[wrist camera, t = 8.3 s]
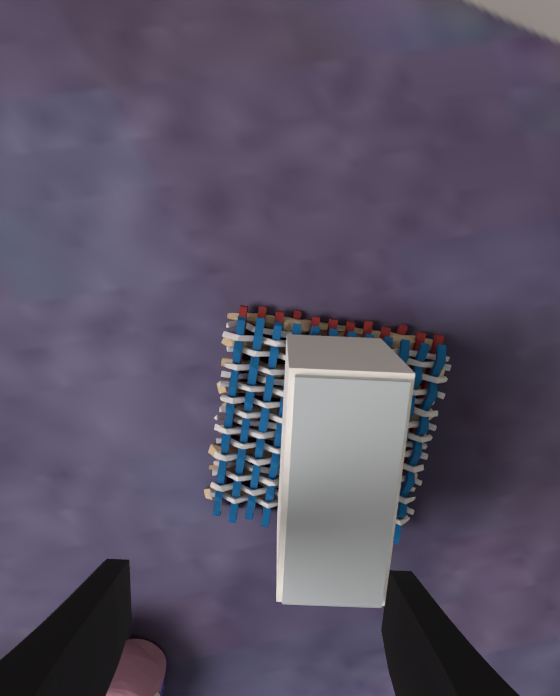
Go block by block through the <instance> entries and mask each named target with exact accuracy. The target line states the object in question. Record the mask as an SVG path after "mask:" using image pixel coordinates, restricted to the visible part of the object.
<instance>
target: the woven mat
mask: <svg viewBox="0 0 560 696" xmlns="http://www.w3.org/2000/svg"><path fill="white" fill-rule="evenodd" d="M266 310H267V308H266V307H260V306H259V309H258V313H248V306H242V305H241V306H240V310H239V313H228V315H227V318H228V319H233V320H236V321H231V322H227V325H226V327H234V326H237V328H236V334H233V333H229V332H226V331H224V333H223V335H222V337H224V338H223V340H222V342H221V343H222V344H224V345H226V346H227V352H233V359H232V358H222V362H221V366H225V367H226V368H229V369H231V372H226V371H222V372H221V377H228V378H230V379H226V380H224V381H219V383H217V387H218V391H219V394H224V393H228V396H226V395H222V396H220V399H221V401H224V402H225V403H223V404H222V406H221V407H220V409H219V412H225V414H220V415H216V417H215V418H214V419H216V420H225V422H224V424H221V425H217V424H215V427H214V430H217V431H219V432H220V433H223V434H222V437H221V438H216V444H211V446H210V449H209V451H208V453H210V454H211V455H212V456H213V457H214V458H216V459H217V460H219V461H214V465H209V469H211V470H212V476H213V475H217V484H216V483H213V482H211V485H210V487H209V488H206V489H204V493H205V497H206V498H207V499H211V500H213V499H215V500H214V511H213V515H216V516H220V514H221V507H222V500H223V498H224V499H226V500H227V501H229V502H231V506H230V513H229V520H228V522H231V523H236V518H237V511H238V505H239V503H241V502H245V501H248V503H247V510H246V519H248V520H252V519H253V515H254V509H255V503H258V504H260V505H262V506H263V509H262V521H261V526H262V527H269V520H270V513H271V507H275V506H278V494H279V490H277V489H275V488H278V487H279V474H280V469H278V467H279V465H280V455H281V435H282V416H283V396H284V377H285V364H277V365H276V363H277V358H280V359H283V360H285V357H286V340H280V338H281V337H284V338H287V334H294V335H307V334H309V335H316V336H318V335H323V336H338V337H360V338H381V339H382V340H383V341H384V342H385V343H386V344H387V345H388V346H389V347H393V348H392V350H393V351H394V352H395V353H396V354H397V355H398V356H399V357H400V358H401V359H402V360H403V361H404V362H405V363H406V364H407V365H408V366H409V367H410V368H411V370H412V371H413V372H414V373H415V380H414V388H413V395H412V403H411V410H410V418H409V421H410V422H409V426H408V433H407V439H408V441H406V448H405V456H404V463H403V471H402V479H401V486H400V494H399V501H398V509H397V517H396V524H395V532H394V539H393V543H396V544H398V543H399V540H400V534H401V525H403V524H404V523H406V522H407V521H408V520H409V519H410V517H409V518H408V515H407V513H409V514H411V515H413V514H414V510H413V509H411V508H409V507H407V503H409V502H412V501H414V499H415V498H416V497H408V493H409V492H410V491H415V489H416V488H415V487H413V486H414V484H417V485H420V486H421V484H422V481H421V480H418V479H417V476H418V474H417V473H416V472H419V471H423V470H424V466H423V465H418V466H416V464H417V463H418V461H419V459H420V458H422V459H425V460H427V458H428V454H426V453H423V452H422V449H426V448H427V444H426V443H424V442H427V441H431V439H432V438H433V437H432V436H431V435H426V433H427V432H428V431H429V429H430V430H433V431H435V430H436V427H437V425H434V424H431V423H429V420H431V419H432V418H433V417H435V416H438V411H433V409H432V408H431V406H432V405H433V404H434V403H435V399H436V397H438V398H441V399H444V397H445V393H442V392H439V391H438V390H437V383H444V382H446V381H447V380H448V378H447V377H446V376H444V372H445V370H447V371H450V368H451V365H449V364H445V363H446V361H447V362H448V361H449V358H450V357H447V356H446V346H447V345H442V344H443V340H444V337H445V336H443V335H438V334H434V338H433V340H432V339H427V338H425V337H426V333H424V332H418V331H417V334H416V336H414V335H405V334H406V332H407V325H402V324H400V325H399V327H398V328H397V330H396V333H392V332H391V328H389V327H383V326H382V328H381V331H375V330H372V326H373V322H368V321H365V322H364V328H363V329H361V328H354V327H355V322H352V321H347V324H346V326H341V325H337V323H338V320H336V319H329V323H328V324H327V323H320V317H316V316H312V321H310V320H300V319H301V311H296V310H294V313H293V318H290V317H284V312H282V311H276V313H275V316H271V315H266ZM249 323H251V324H255V325H256V326H253V325H251V324H249ZM264 327H268V328H273V329H266V328H264ZM246 329H248V330H250V331H252V332H254V336H247V335H245V332H246ZM263 334H268V335H272V340H271V339H268V338H265V337H263ZM428 351H430V353H428ZM243 353H244V354H247V355H250V356H251V361H250V360H243V359H242V354H243ZM262 356H269V360H268V364H267V363H265V362H262V361H260V360H259V359H260V357H262ZM409 356H411V359H410V358H409ZM425 359H428V362H424V361H425ZM240 370H241V371H246V372H249V373H245V374H240ZM281 378H283V380H280V379H281ZM239 379H248V382H243V381H239ZM422 380H423V382H422V386H420V385H419V384H420V383H421V381H422ZM256 381H258V382H261V383H265V385H264V384H257V383H256ZM273 385H281V386H282V387H278V386H273ZM237 392H238V393H244V394H246V396H245V397H237ZM254 395H257V396H263V401H260V400H258V399H255V398H254ZM416 395H418V397H417V398H415V397H416ZM271 397H272V398H280V401H279V402H271ZM243 402H245V404H244V405H243V404H239V403H243ZM253 404H256V405H254V406H253ZM276 407H279V408H278V409H277V408H276ZM258 419H260V421H257V420H258ZM268 419H271V420H274V421H276V423H273V422H268ZM233 422H236V423H238V424H242V426H235V425H233ZM250 426H257V427H259V428H253V427H250ZM267 428H271V429H275V430H271V429H267ZM231 435H237V436H240V442H238V441H236V440H234V439H232V438H231ZM248 437H251V438H257V442H251V443H247V441H248ZM265 440H272V441H273V445H272V446H271V445H268V444H266V443H265ZM218 443H221V445H217V444H218ZM230 444H231V445H232V446H230ZM254 447H256V448H254ZM264 449H265V450H264ZM245 460H246V461H248V462H251V463H253V465H251V464H249V463H247V462H245ZM265 464H269V467H262V466H261V465H265ZM215 465H216V466H215ZM235 466H236V467H235ZM226 476H227V477H229V478H231V479H233V480H234V483H230V484H225V479H226ZM246 480H251V482H250V488H248V487H246V486H244V485H242V481H246ZM258 483H259V484H260V485H262V486H263V487H265V488H260V489H257V487H258ZM407 497H408V498H407Z"/></svg>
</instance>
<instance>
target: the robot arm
mask: <svg viewBox="0 0 560 696" xmlns="http://www.w3.org/2000/svg"><path fill="white" fill-rule="evenodd" d="M131 621H132V614H131V591H130V567H129V560H121V559H106V560H105V561H104V562H103V563H102V564H101V565H100V566H99V567H98V568H97V569H96V570H95V571H94V572H93V573H92V574H91V575H90V576H89V577H88V578H87V579H86V580H85V581H84V582H83V583H82V584H81V585H80V586H79V587H78V588H77V589H76V590H75V591H74V592H73V593H72V594H71V595H70V596H69V597H68V598H67V599H66V600H65V601H64V602H63V603H62V604H61V605H60V606H59V607H58V608H57V609H56V610H55V611H54V612H53V613H52V614H51V615H50V616H49V617H48V618H47V619H46V620H45V621H44V622H42V623H41V624H40V625H39V626H38V627H37V628H36V629H35V630H34V631H33V632H32V633H30V634H29V635H28V636H27V637H26V638H25V639H24V640H23V641H21V642H20V643H19V644H18V645H17V646H16V647H15V648H14V649H12V650H11V651H10V652H9V653H8V654H7V655H6V656H4V657H3V658H2V659H1V660H0V696H106V694H107V691H108V689H109V687H110V684H111V682H112V679H113V677H114V674H115V672H116V669H117V667H118V664H119V662H120V658H121V655H122V652H123V649H124V646H125V642H126V639H127V635H128V632H129V628H130V625H131ZM381 631H382V636H383V642H384V648H385V653H386V659H387V664H388V669H389V674H390V677H391V681H392V684H393V688H394V691H395V695H396V696H520V695H518V694H517V693H516V692H515V691H514V690H513V689H512V688H511V687H510V686H509V685H508V684H507V683H506V682H505V681H504V680H503V679H502V678H501V677H500V676H499V675H498V673H497V672H496V671H495V670H494V669H493V668H492V667H491V666H490V665H489V664H488V663H487V662H486V661H485V659H484V658H483V657H482V656H481V655H480V654H479V653H478V652H477V651H476V649H475V648H474V647H473V646H472V645H471V644H470V643H469V641H468V640H467V639H466V638H465V637H464V636H463V634H462V633H461V632H460V631H459V630H458V629H457V627H456V626H455V625H454V624H453V623H452V621H451V620H450V619H449V618H448V617H447V615H446V614H445V613H444V612H443V610H442V609H441V608H440V607H439V605H438V604H437V603H436V602H435V600H434V599H433V598H432V597H431V595H430V594H429V593H428V591H427V590H426V589H425V588H424V586H423V585H422V584H421V583H420V581H419V580H418V579H417V577H416V576H415V575H414V574H413V573H412V571H392V570H389V577H388V585H387V592H386V600H385V607H384V614H383V622H382V629H381Z"/></svg>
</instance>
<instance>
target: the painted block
mask: <svg viewBox="0 0 560 696" xmlns="http://www.w3.org/2000/svg"><path fill="white" fill-rule="evenodd" d="M414 380H415V373H414V372H413V371H412V370H411V368H410V367H409V366H408V365H407V364H406V363H405V362H404V361H403V360H402V359H401V358H400V357H399V356H398V355H397V354H396V353H395V352H394V351H393V350H392V349H391V348H390V347H389V346H388V345H387V344H386V343H385V342H384V341H383V340H382V339H381V338H360V337H338V336H316V335H294V334H287V338H286V357H285V377H284V396H283V416H282V435H281V455H280V474H279V494H278V513H277V589H276V602H282V604H291V605H317V606H344V607H370V608H382V606H385V600H386V592H387V585H388V577H389V570H390V562H391V555H392V547H393V539H394V532H395V524H396V517H397V509H398V501H399V494H400V486H401V479H402V471H403V463H404V456H405V448H406V441H407V433H408V426H409V418H410V410H411V403H412V395H413V388H414Z"/></svg>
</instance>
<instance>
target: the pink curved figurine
mask: <svg viewBox="0 0 560 696" xmlns="http://www.w3.org/2000/svg"><path fill="white" fill-rule="evenodd" d="M165 672H166V658H165V655H164V653H163V652H162V651H161V649H160V648H159V647H157V646H156V645H155V644H153V643H151V642H149V641H147V640H144V639H128V640H126V642H125V646H124V649H123V652H122V655H121V658H120V662H119V664H118V667H117V669H116V672H115V674H114V677H113V679H112V682H111V684H110V687H109V689H108V691H107V694H106V696H162V693H163V688H164V682H163V681H164V677H165Z"/></svg>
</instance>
